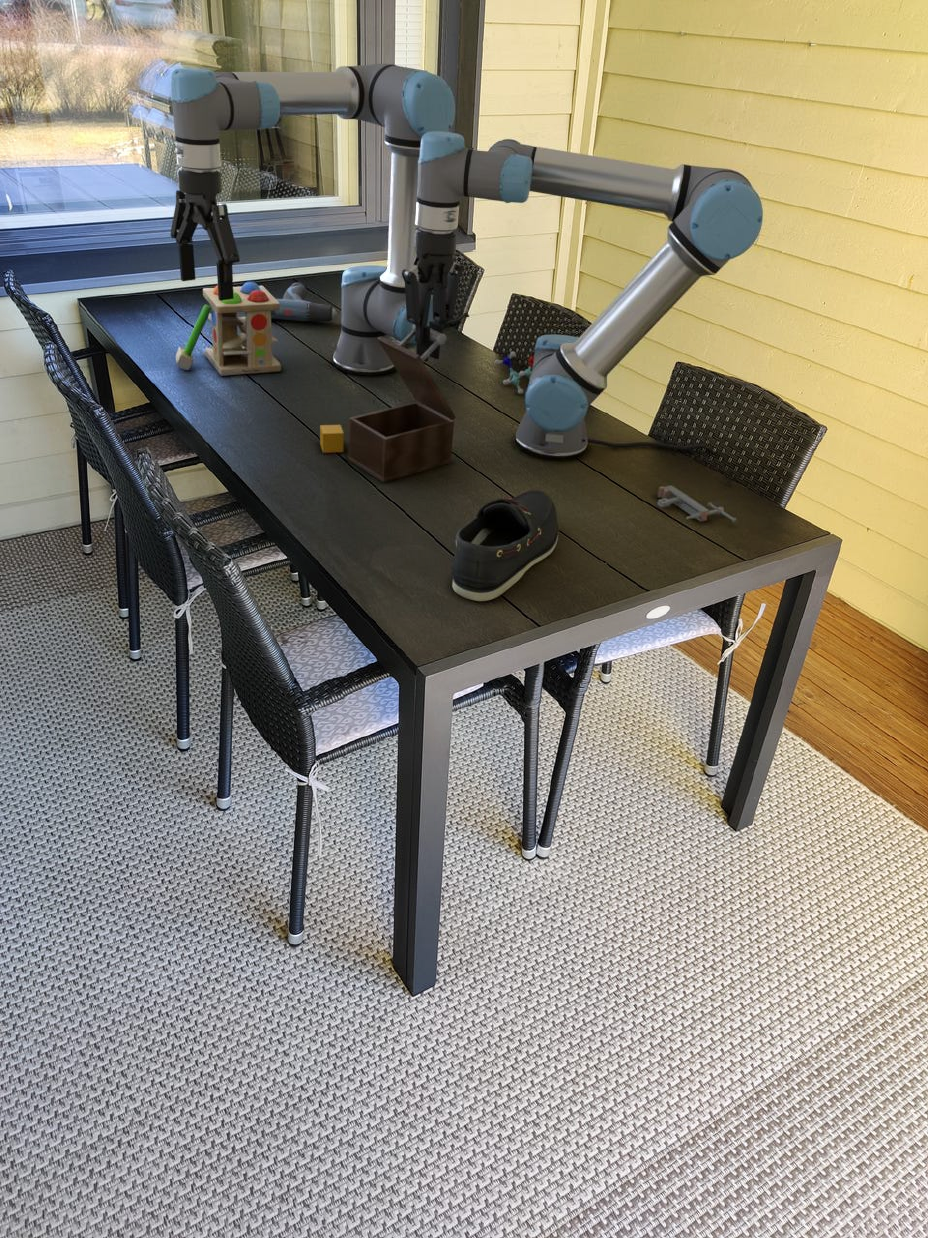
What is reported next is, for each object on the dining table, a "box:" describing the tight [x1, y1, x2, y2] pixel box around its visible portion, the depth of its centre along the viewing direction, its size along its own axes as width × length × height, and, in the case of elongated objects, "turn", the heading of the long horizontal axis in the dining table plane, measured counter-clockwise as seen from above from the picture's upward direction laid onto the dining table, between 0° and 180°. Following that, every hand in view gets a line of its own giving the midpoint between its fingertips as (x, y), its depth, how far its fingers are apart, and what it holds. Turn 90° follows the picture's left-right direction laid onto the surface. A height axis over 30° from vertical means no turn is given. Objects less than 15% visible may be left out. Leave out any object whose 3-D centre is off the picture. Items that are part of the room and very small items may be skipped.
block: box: [319, 424, 345, 454], centre depth 197 cm, size 4×4×4 cm
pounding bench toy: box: [174, 281, 282, 377], centre depth 225 cm, size 23×14×18 cm, turn 116°
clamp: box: [656, 485, 738, 523], centre depth 187 cm, size 15×2×10 cm
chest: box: [347, 401, 455, 483], centre depth 193 cm, size 17×12×9 cm
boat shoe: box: [450, 489, 559, 602], centre depth 165 cm, size 13×33×10 cm, turn 147°
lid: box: [378, 324, 456, 421], centre depth 189 cm, size 18×12×8 cm
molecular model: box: [494, 351, 534, 395], centre depth 232 cm, size 12×10×10 cm
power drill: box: [271, 282, 338, 322], centre depth 265 cm, size 5×19×20 cm
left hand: (206, 289), depth 186 cm, fingers open, 13 cm apart
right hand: (427, 357), depth 187 cm, fingers closed on lid, 2 cm apart
